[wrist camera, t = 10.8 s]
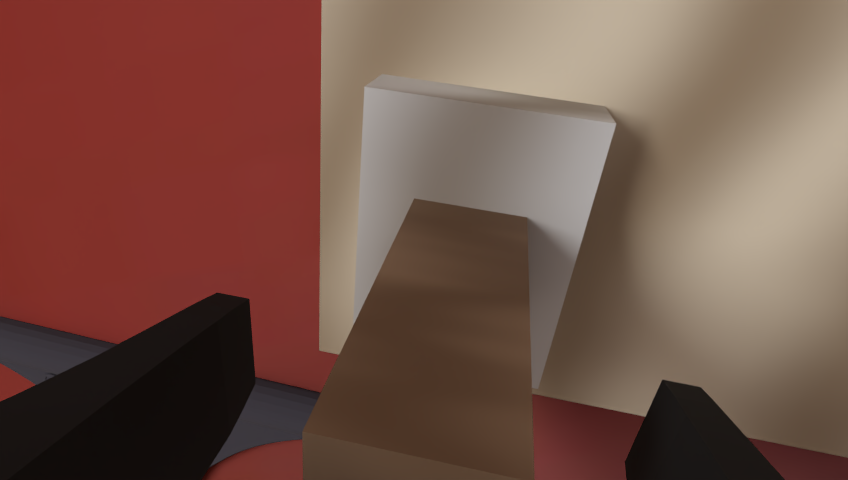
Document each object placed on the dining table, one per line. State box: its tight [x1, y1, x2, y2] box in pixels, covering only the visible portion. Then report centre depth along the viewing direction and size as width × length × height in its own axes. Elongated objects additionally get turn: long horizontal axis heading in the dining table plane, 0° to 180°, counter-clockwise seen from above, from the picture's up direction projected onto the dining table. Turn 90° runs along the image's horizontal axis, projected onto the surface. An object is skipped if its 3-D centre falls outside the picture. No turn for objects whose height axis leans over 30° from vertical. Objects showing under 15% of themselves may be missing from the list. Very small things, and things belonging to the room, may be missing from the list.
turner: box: [302, 74, 616, 480], centre depth 9 cm, size 5×7×8 cm
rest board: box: [319, 0, 848, 458], centre depth 12 cm, size 16×13×1 cm
